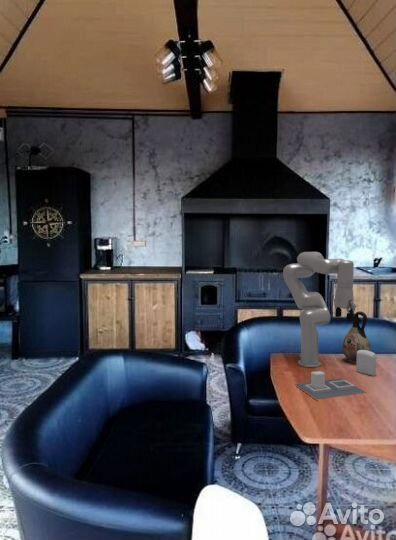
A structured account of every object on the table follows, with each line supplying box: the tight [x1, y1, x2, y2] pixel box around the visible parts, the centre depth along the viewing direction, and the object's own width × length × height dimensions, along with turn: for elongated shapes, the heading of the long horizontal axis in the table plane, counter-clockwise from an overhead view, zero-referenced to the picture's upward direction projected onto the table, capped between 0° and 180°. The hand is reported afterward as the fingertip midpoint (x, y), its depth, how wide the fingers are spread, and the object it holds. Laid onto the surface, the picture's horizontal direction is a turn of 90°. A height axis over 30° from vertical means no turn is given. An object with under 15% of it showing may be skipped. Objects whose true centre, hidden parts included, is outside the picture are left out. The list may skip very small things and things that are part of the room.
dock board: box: [294, 378, 367, 402], centre depth 206 cm, size 20×26×2 cm
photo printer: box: [355, 350, 377, 377], centre depth 229 cm, size 10×4×12 cm, turn 39°
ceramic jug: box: [341, 311, 372, 364], centre depth 248 cm, size 17×15×30 cm
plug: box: [310, 370, 326, 390], centre depth 204 cm, size 4×6×8 cm
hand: (343, 318), depth 217 cm, fingers open, 9 cm apart
